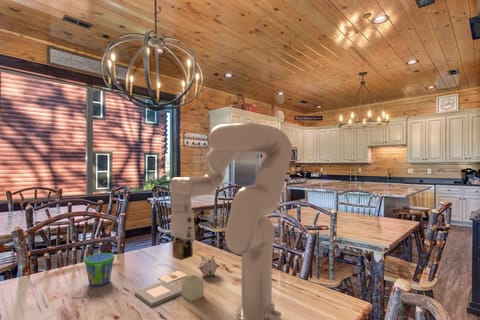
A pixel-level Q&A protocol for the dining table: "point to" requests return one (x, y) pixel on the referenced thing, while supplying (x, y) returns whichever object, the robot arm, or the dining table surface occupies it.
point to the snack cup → (99, 268)
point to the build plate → (158, 293)
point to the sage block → (192, 288)
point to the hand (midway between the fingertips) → (182, 254)
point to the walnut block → (180, 249)
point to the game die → (208, 266)
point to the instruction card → (172, 276)
